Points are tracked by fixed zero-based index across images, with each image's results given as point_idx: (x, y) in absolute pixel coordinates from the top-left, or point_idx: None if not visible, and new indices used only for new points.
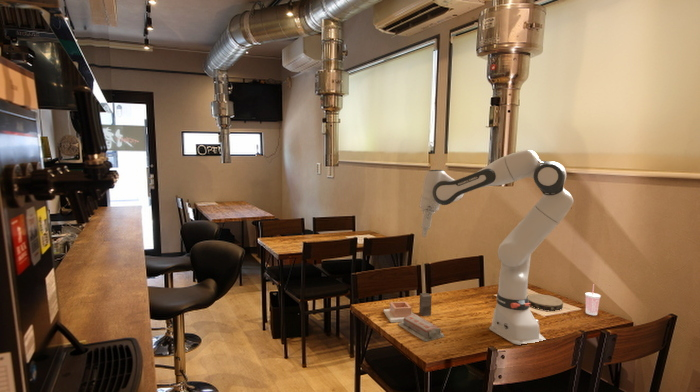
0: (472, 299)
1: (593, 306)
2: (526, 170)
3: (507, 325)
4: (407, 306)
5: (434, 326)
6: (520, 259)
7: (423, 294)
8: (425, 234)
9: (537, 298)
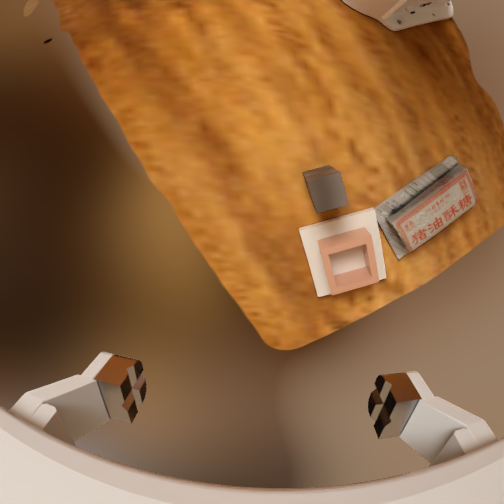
0: (161, 38)
1: None
2: None
3: (429, 2)
4: (356, 245)
5: (464, 182)
6: None
7: (326, 201)
8: (423, 392)
9: None
